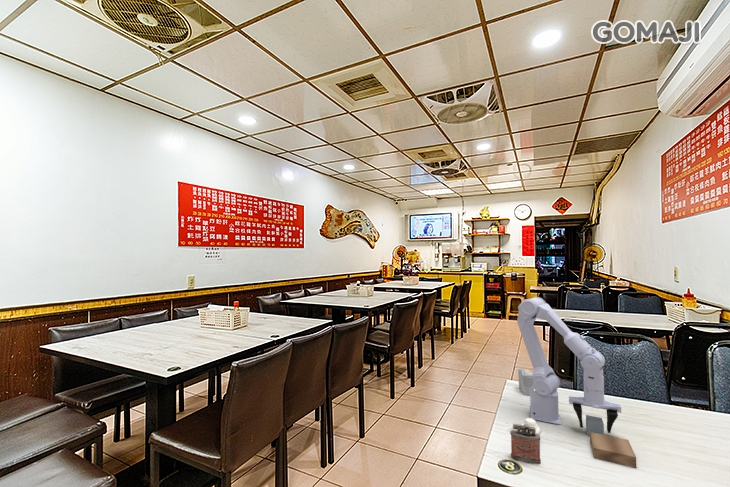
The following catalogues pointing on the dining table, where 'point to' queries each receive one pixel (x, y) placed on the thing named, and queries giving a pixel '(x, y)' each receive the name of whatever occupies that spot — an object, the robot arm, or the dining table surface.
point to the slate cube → (594, 425)
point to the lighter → (525, 444)
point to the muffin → (532, 425)
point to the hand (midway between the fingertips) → (594, 429)
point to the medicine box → (525, 381)
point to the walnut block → (612, 449)
